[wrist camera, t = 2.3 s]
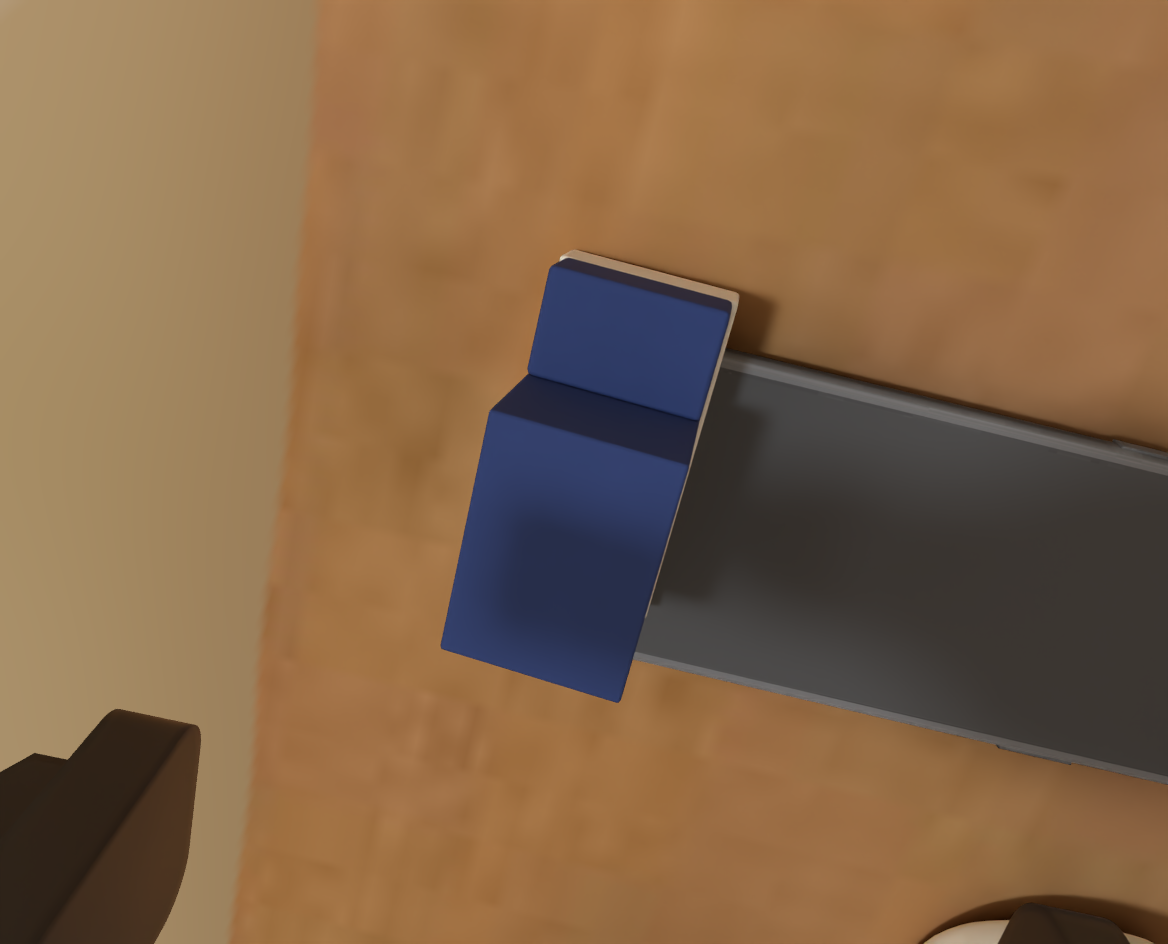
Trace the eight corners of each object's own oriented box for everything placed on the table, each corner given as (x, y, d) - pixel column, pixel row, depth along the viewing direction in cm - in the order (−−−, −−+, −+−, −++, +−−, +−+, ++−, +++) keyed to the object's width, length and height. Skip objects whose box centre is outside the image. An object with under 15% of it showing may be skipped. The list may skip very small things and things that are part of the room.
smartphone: (657, 331, 18) (1392, 512, 19) (656, 321, 19) (1359, 494, 20) (571, 653, 21) (1218, 804, 21) (573, 632, 22) (1196, 777, 22)
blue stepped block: (651, 596, 21) (618, 726, 16) (503, 552, 21) (428, 667, 16) (740, 292, 18) (733, 341, 14) (572, 248, 19) (508, 280, 14)
